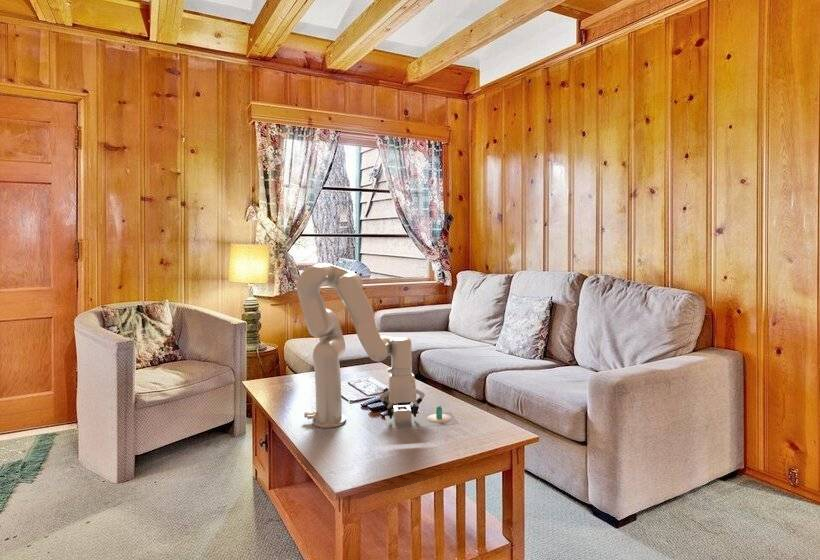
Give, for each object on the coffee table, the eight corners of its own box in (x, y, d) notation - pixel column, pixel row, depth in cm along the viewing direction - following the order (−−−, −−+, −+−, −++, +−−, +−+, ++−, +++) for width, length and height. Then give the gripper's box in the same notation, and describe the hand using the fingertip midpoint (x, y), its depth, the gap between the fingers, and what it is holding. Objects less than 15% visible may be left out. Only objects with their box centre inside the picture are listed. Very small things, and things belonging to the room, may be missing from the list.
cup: (398, 412, 202) (398, 393, 201) (380, 411, 203) (380, 392, 203) (402, 406, 209) (402, 387, 208) (385, 405, 211) (385, 386, 210)
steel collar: (395, 424, 186) (395, 411, 186) (393, 418, 192) (393, 405, 192) (411, 423, 187) (411, 410, 187) (409, 417, 193) (409, 404, 193)
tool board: (388, 432, 182) (387, 415, 182) (384, 418, 195) (384, 403, 195) (458, 427, 186) (458, 411, 186) (450, 414, 199) (450, 399, 198)
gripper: (379, 375, 183) (380, 422, 185) (426, 372, 185) (427, 418, 187) (377, 369, 190) (378, 414, 192) (423, 367, 193) (423, 411, 194)
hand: (402, 416), depth 189 cm, fingers open, 8 cm apart
